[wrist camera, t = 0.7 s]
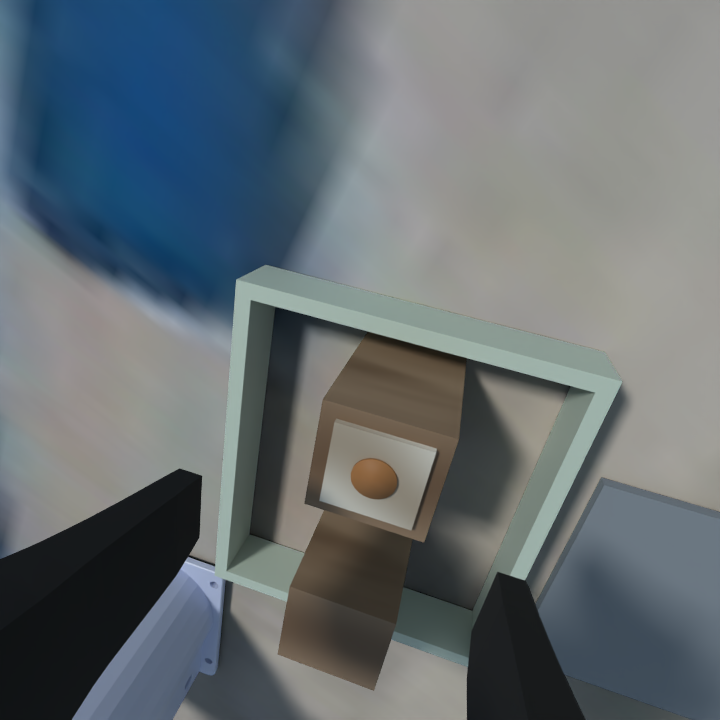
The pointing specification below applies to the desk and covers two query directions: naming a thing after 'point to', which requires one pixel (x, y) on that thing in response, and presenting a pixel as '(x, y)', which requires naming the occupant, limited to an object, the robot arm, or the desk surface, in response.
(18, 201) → the desk surface
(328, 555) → the plain block
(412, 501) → the labelled block
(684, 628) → the mat
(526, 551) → the bin
